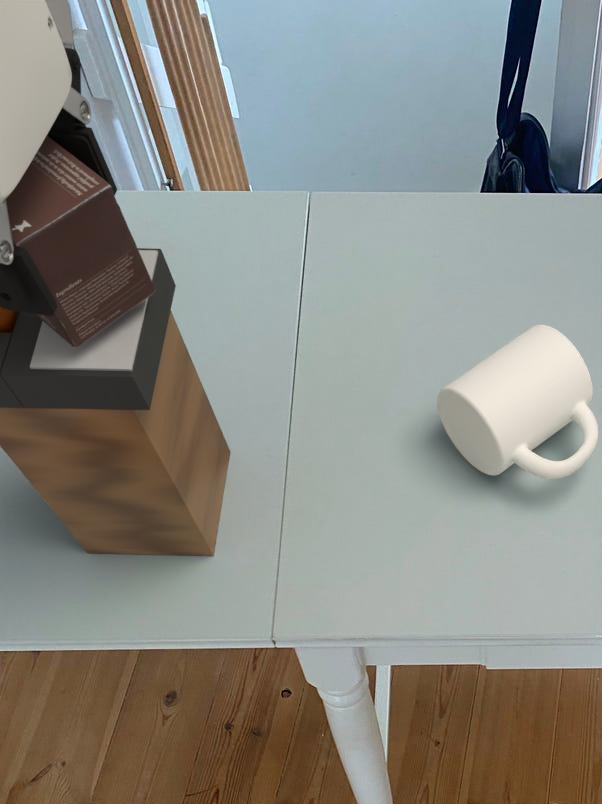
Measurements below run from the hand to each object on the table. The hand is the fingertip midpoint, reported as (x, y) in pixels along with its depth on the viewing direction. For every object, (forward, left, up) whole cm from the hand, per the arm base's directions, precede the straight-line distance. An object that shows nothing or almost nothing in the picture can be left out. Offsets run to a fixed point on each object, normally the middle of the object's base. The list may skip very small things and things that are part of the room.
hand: (60, 247), depth 48 cm
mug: (+17, +22, -26) cm, 38 cm away
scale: (-2, -2, -8) cm, 8 cm away
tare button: (-5, -4, -6) cm, 9 cm away
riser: (-2, -2, -26) cm, 26 cm away
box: (0, 0, -4) cm, 4 cm away
